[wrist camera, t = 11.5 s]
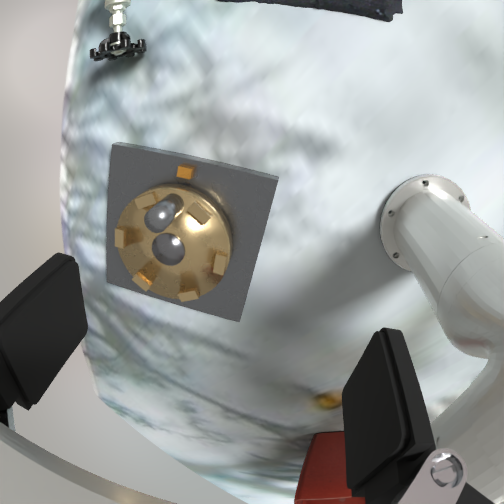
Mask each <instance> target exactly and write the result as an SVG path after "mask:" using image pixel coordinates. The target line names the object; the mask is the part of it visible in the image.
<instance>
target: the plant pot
mask: <svg viewBox="0 0 504 504" xmlns="http://www.w3.org/2000/svg"><path fill="white" fill-rule="evenodd" d="M294 504H365V497H352V494H351V489H348V488H347V483H346V455H345V436H344V432H330V433H317V434H315V435H314V437H313V439H312V442H311V444H310V447H309V449H308V452H307V455H306V458H305V461H304V464H303V467H302V470H301V474H300V478H299V482H298V485H297V490H296V494H295V499H294Z"/></svg>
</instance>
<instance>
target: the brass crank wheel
mask: <svg viewBox="0 0 504 504" xmlns="http://www.w3.org/2000/svg"><path fill="white" fill-rule="evenodd" d="M115 247H118V251H119V254H120V257H121V259H122V261H123V263H124V265H125V267H126V268H127V270H128V271H129V272H130V274H131V275H132V276H133V278H132V280H133V281H134V282H135V283H136V284H137V285H139V286H140V287H141V288H142V289H143V290H145V291H147V290H148V289H149V290H150V291H152V292H154V293H156V294H158V295H161V296H164V297H168V298H172V299H180V300H181V302H184V301H190V300H195V299H199V297H200V296H202V295H204V294H206V293H208V292H209V291H211V290H212V289H213V288H215V287H216V286H217V284H218V283H219V282H220V281H221V279H222V278H223V276H224V274H225V272H226V269H227V267H228V264H229V262H230V259H231V255H232V249H233V238H232V232H231V229H230V225H229V223H228V221H227V219H226V217H225V215H224V213H223V212H222V210H221V209H220V208H219V207H218V205H217V204H216V203H215V202H214V201H213V200H212V199H211V198H209V197H208V196H207V195H205V194H204V193H202V192H200V191H199V190H197V189H194V188H192V187H189V186H186V185H182V184H161V185H157V186H154V187H152V188H150V189H148V190H146V191H144V192H143V193H142V194H140V195H139V196H137V197H136V198H134V199H133V200H132V201H131V202H130V203H129V204H128V205H127V206H126V207H125V209H124V210H123V212H122V213H121V215H120V218H119V221H118V224H117V227H116V228H115Z"/></svg>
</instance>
